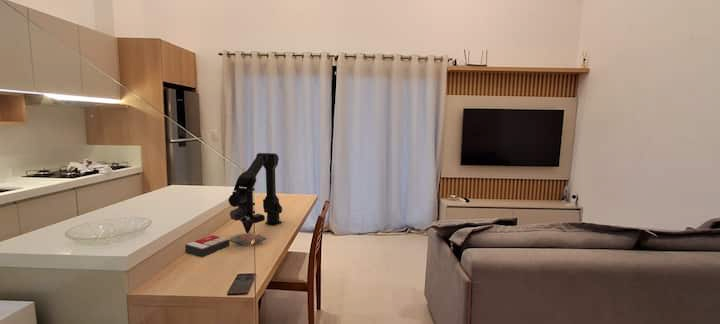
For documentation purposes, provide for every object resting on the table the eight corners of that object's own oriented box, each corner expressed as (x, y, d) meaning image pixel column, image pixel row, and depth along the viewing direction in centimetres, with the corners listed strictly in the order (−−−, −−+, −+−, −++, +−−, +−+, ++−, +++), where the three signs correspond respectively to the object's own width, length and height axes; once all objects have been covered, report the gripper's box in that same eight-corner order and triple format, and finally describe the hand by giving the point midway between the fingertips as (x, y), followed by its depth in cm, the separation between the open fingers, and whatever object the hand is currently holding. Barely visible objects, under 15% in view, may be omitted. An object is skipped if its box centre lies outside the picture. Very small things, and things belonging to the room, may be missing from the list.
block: (251, 232, 167) (259, 234, 164) (251, 235, 167) (259, 238, 164) (239, 236, 161) (247, 238, 158) (239, 240, 161) (248, 242, 158)
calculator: (230, 238, 156) (202, 247, 142) (229, 247, 156) (202, 257, 143) (213, 234, 161) (184, 243, 147) (213, 243, 161) (184, 252, 148)
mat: (248, 233, 172) (248, 232, 172) (266, 238, 165) (266, 237, 165) (228, 240, 162) (228, 239, 162) (246, 246, 155) (246, 245, 155)
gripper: (219, 201, 159) (220, 233, 161) (245, 208, 149) (246, 242, 151) (239, 197, 168) (240, 227, 171) (265, 203, 159) (265, 234, 161)
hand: (247, 232), depth 163 cm, fingers closed
